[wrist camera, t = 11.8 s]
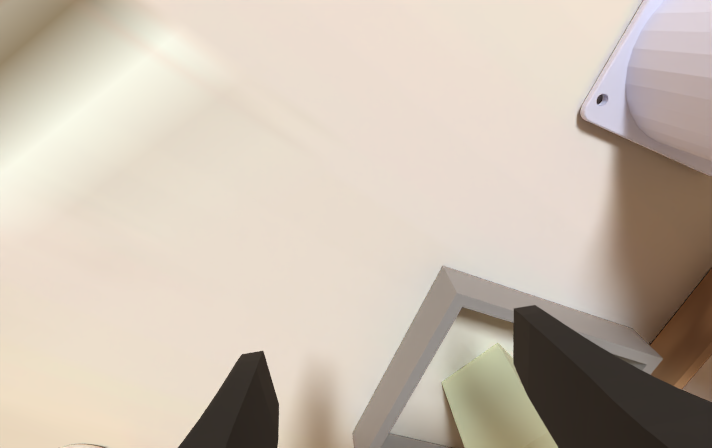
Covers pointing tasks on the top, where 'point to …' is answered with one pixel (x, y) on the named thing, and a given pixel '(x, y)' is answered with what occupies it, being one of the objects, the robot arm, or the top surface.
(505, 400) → the sage block
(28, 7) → the top surface
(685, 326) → the walnut bin
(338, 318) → the top surface
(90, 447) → the pill bottle
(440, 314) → the grey bin
